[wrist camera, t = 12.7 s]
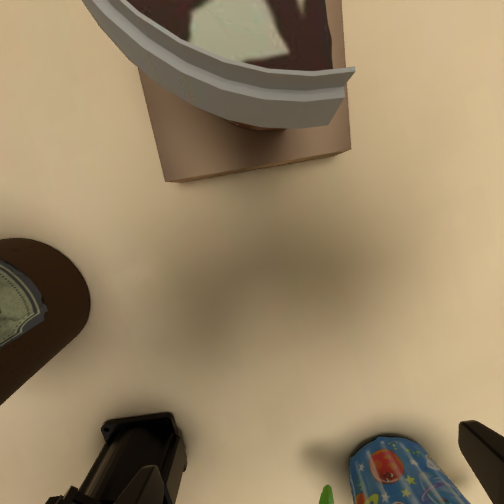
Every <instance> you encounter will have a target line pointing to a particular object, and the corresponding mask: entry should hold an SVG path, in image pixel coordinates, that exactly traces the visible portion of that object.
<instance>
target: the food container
mask: <svg viewBox="0 0 504 504" xmlns="http://www.w3.org/2000/svg"><path fill="white" fill-rule="evenodd" d="M82 1H83V3H84V4H85V6H86V7H87V9H88V10H89V12H90V13H91V15H92V16H93V18H94V19H95V21H96V22H97V24H98V25H99V26H100V28H101V29H102V30H103V31H104V32H105V33H106V34H107V36H108V37H109V38H110V39H111V40H112V41H113V42H114V43H115V45H116V46H117V47H118V48H119V49H120V50H121V51H122V52H123V53H124V55H125V56H126V57H127V58H128V59H129V60H130V61H131V62H132V63H134V64H135V65H136V66H137V67H138V68H140V69H141V70H142V71H143V72H144V73H145V74H147V75H148V76H149V77H150V78H151V79H153V80H154V81H155V82H156V83H157V84H159V85H160V86H161V87H163V88H165V89H166V90H168V91H169V92H171V93H173V94H174V95H176V96H178V97H179V98H181V99H183V100H184V101H186V102H188V103H189V104H191V105H192V106H195V107H197V108H200V109H202V110H205V111H207V112H209V113H212V114H214V115H217V116H219V117H220V118H222V119H224V120H226V121H227V122H229V123H231V124H233V125H236V126H238V127H241V128H243V129H248V130H253V131H260V132H274V131H282V130H286V129H301V128H309V127H318V126H327V125H329V123H330V122H331V120H332V118H333V117H334V115H335V113H336V112H337V110H338V108H339V107H340V105H341V103H342V102H343V100H344V98H345V92H344V85H345V84H346V83H347V81H348V80H349V79H350V78H351V76H352V75H353V74H354V72H355V67H347V68H338V69H333V63H332V38H331V34H330V30H329V25H328V19H327V11H326V3H325V0H82Z"/></svg>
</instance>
